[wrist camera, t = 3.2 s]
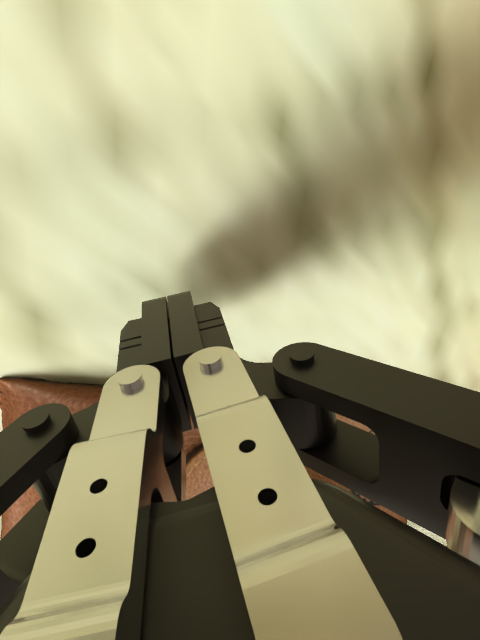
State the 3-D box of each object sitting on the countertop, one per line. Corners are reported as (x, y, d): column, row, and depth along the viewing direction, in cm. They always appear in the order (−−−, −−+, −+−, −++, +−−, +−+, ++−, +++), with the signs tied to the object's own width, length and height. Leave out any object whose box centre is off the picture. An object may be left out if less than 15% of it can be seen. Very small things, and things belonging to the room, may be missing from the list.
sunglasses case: (435, 369, 18) (498, 541, 15) (363, 421, 24) (396, 553, 21) (-25, 373, 14) (-83, 609, 11) (22, 433, 20) (-6, 600, 17)
